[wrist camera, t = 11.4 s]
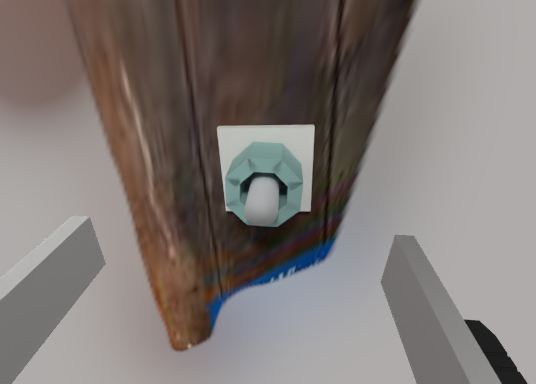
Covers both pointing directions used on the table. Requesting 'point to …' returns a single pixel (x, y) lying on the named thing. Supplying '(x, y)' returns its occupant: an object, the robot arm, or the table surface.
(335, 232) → the table surface
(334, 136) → the table surface
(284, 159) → the ring
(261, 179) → the plate with round peg
